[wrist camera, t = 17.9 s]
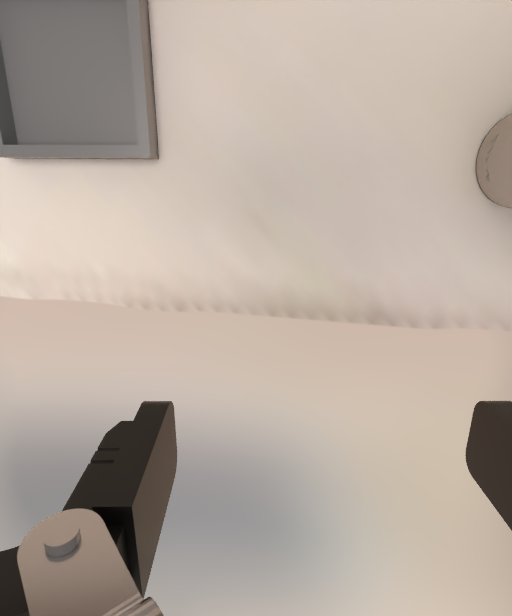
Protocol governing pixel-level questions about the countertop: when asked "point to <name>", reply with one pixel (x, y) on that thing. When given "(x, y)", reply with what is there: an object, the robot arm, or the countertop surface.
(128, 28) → the charcoal bin
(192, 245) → the countertop surface
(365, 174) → the countertop surface
